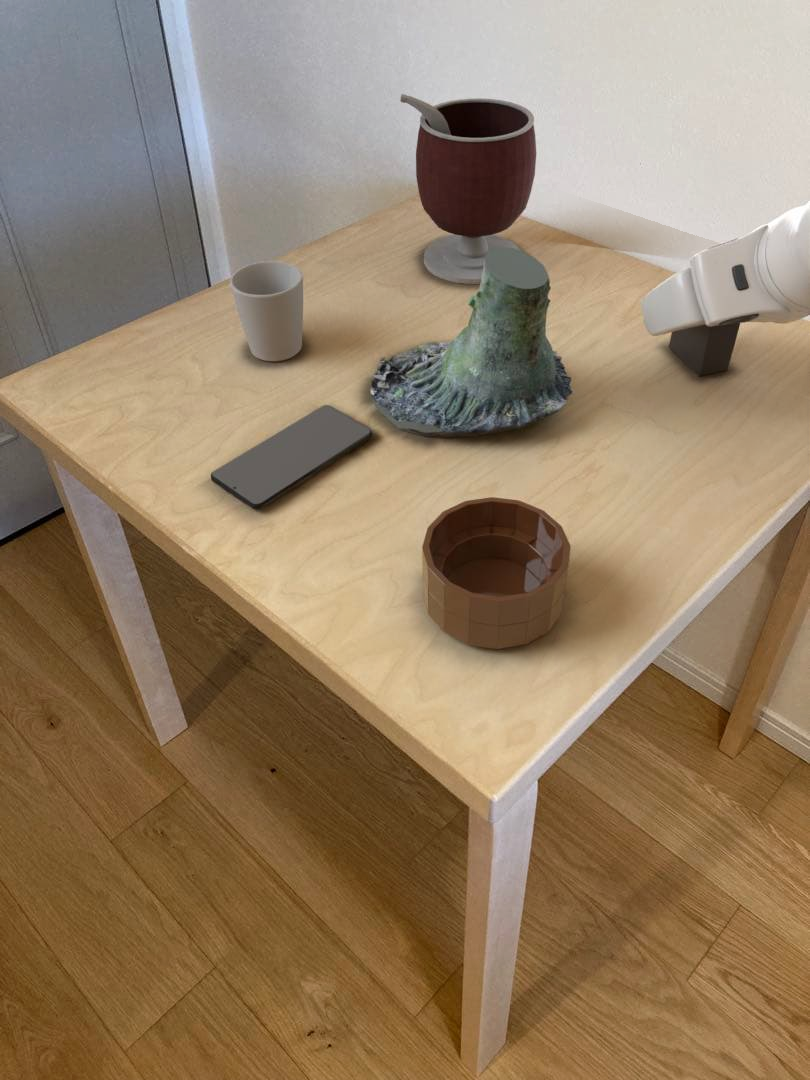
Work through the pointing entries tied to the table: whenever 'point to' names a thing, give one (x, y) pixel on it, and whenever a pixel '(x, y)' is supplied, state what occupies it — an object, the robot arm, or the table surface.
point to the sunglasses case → (705, 347)
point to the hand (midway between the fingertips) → (703, 314)
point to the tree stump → (481, 361)
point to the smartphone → (290, 456)
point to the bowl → (495, 572)
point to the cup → (270, 308)
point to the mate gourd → (472, 178)
